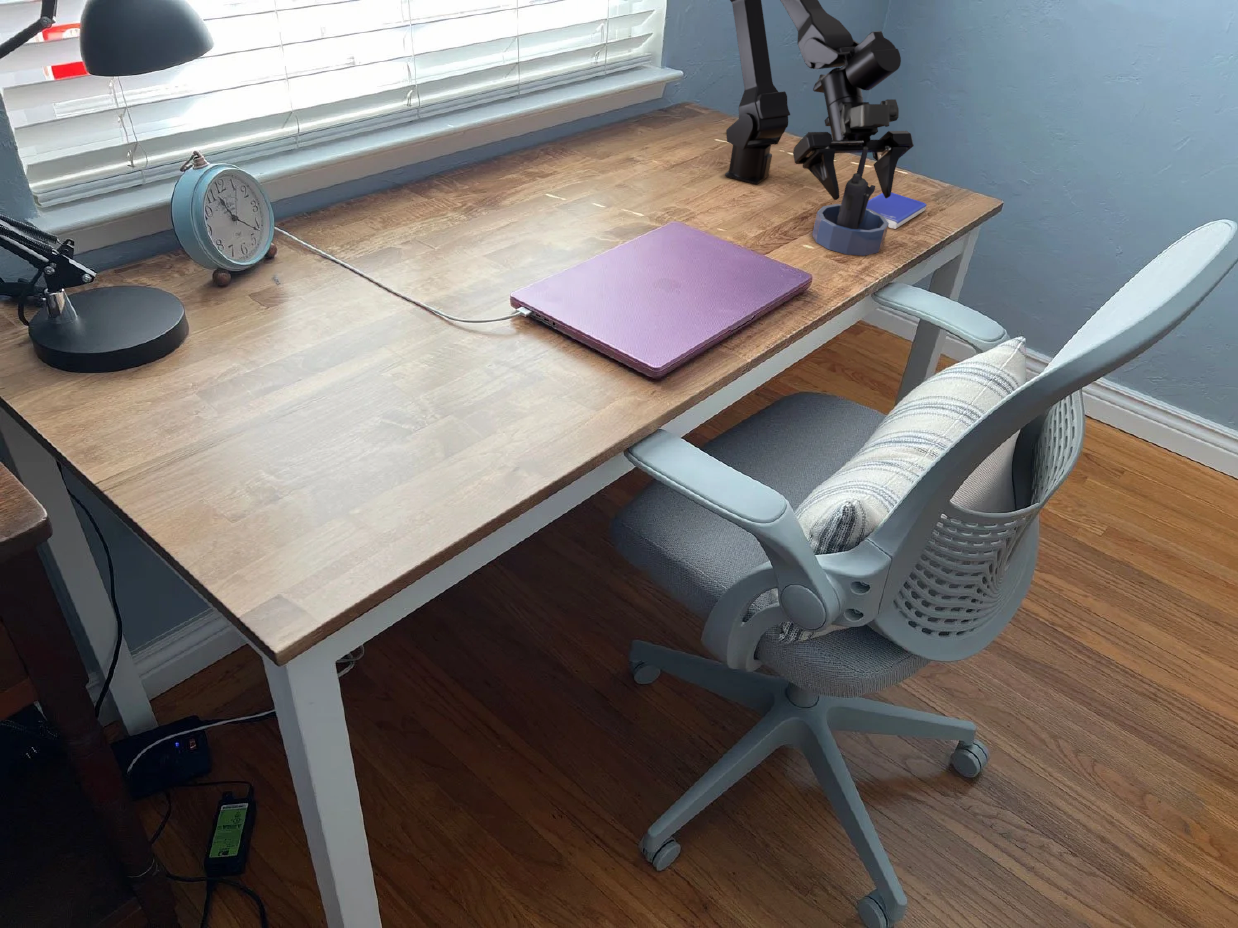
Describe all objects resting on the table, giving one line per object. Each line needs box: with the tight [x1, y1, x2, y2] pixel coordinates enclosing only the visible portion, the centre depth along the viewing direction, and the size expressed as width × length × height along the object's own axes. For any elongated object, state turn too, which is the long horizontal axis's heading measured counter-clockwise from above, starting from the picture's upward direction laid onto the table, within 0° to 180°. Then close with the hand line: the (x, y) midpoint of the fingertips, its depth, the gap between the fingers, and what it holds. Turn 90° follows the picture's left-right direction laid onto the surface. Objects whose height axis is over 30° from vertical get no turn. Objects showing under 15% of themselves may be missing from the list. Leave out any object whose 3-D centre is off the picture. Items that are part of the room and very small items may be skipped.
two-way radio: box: [836, 147, 876, 229], centre depth 151 cm, size 6×4×15 cm
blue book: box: [866, 191, 928, 230], centre depth 167 cm, size 2×8×12 cm
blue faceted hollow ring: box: [811, 203, 889, 257], centre depth 155 cm, size 11×11×4 cm
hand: (862, 198), depth 150 cm, fingers open, 9 cm apart
